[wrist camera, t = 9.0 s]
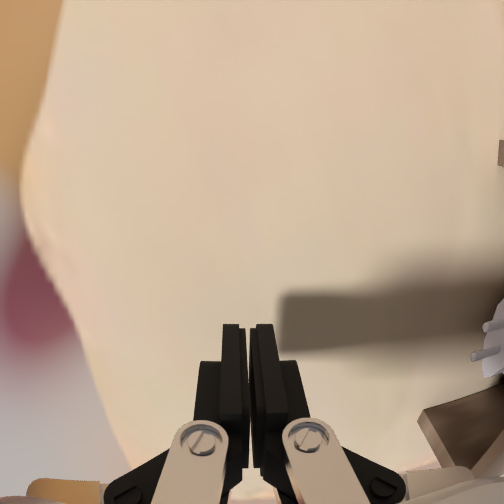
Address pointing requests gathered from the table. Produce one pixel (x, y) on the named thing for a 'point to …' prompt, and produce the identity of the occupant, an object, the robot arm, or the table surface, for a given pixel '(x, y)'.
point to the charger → (492, 345)
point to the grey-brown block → (469, 426)
